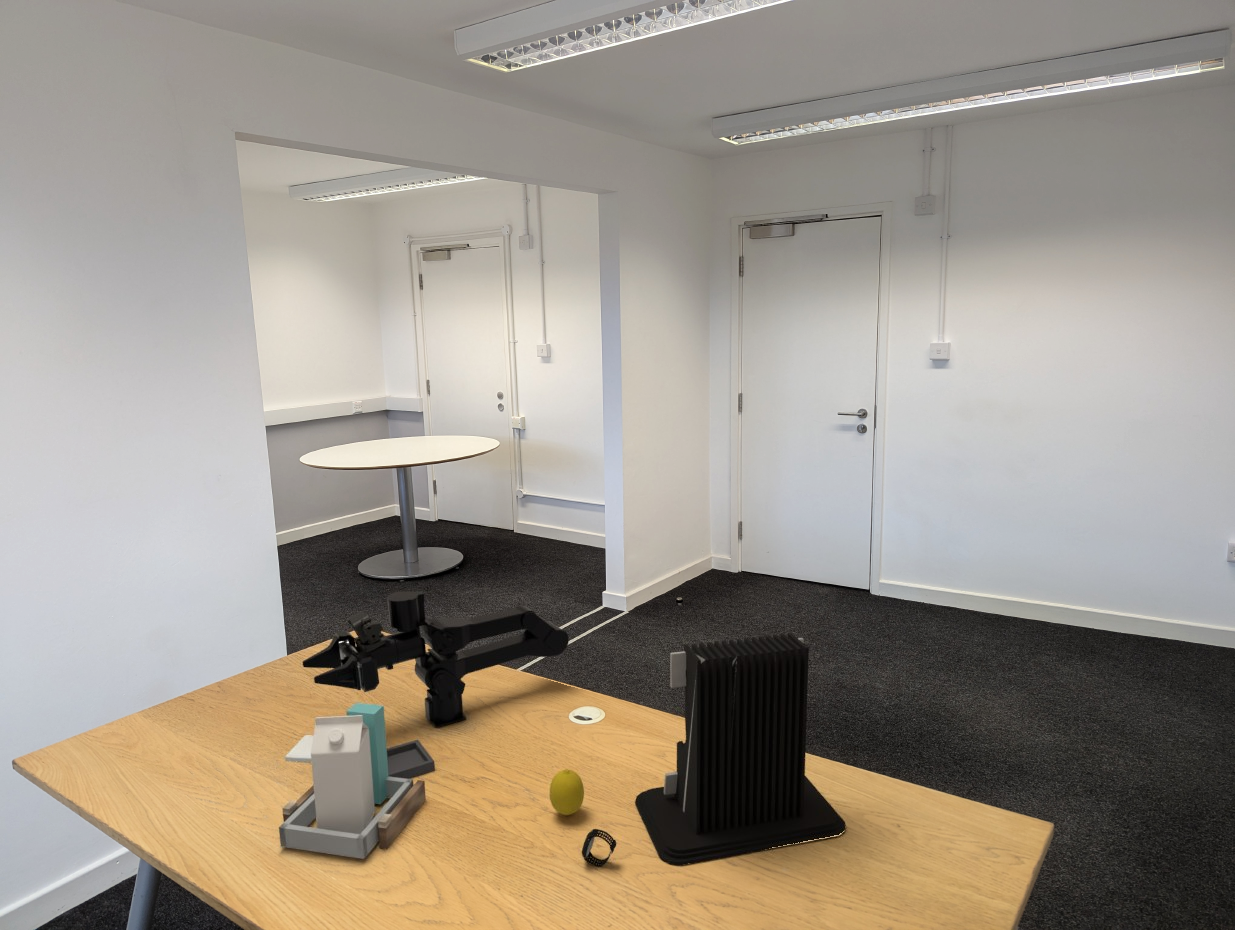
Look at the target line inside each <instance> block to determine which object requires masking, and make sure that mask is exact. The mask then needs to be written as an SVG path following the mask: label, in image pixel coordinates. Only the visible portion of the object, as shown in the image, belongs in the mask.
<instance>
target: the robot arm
mask: <svg viewBox="0 0 1235 930" xmlns="http://www.w3.org/2000/svg"><path fill="white" fill-rule="evenodd" d="M425 599H426V598H425V594H424V593H423V592H422V591H396V592H392V593H391V594H388V596H387V606H388V607H387V609H388V617H389V627H391V628H393V629H395V631H396V633H391V634H387V635H385V634H384V633H382V631H383V630H384V627H383V626H382V624H381V623H380V621H378V620H372V619H371V618H370V617H369V615H368V614H367V613H366V612H365V611H363V610H360V611H359V612H357V613H355V614H353V615H352V616H350V617H349V618H347V620H346V621H347V623H348V624H349V625H350V626H351V627H352V629H353V631H354V632H355V634H356V636H357V637H356V636H355V637H354V636H353V635H352V633H350V632H349V631H347V630H341V631H336V632H335V634H334V635H333V637H332V639H331V642H330V643H329V645H328V646H327V647H324V649H322V650H320V651H319V652H317V653H315V654H313V655H311V656H310V657H307V658H306V659H304V660H302V667H303V668H311V669H329V670H328V671H325V672H323V673H319V674H318V675H316V676H314V677H313V682H314V684H317V685H318V684H319V685H326V686H334V687H341V688H346V689H352V690H357V691H361V690H362V691H363V692H364V693H366V692H367V693H368V692H370V691H371V692H372V691H375V690H376V689H377V687H378V686H379V684H380V679H379V678H380V677H379V670H380V669H383V668H385V669H386V670H387V671H389V670H394V665H398V664H402V663H406V662H409V661H413V660H415V661H414V662H415V665H414V672H415V675H416V676H417V678H418V679H419V680H420V681H421V682H422V683H423V684H424V685H425V686H426V687H427V688H428V689H426V697H425V698H424V710H425V711H424V712H425V713H424V714H425V718H426V719H427V721H429V722H430V723H431V724H432V725H433V726H434V728H440V727H444V726H448V725H451V724H454V723H459V722H462V721H465V720H466V719H467V716H466V714H464V712H463V711H464V709H463V707H464V706H463V693H464V691H465V688H466V683H465V682H464V681H463V680H462V679H463V678H464V677H465V676H466V675H468V674H471V673H475V672H479V671H482V670H485V669H488V668H492V667H495V666H498V665H502V664H506V663H509V662H513V661H516V660H519V659H523V658H527V657H541V658H548V657H558V656H561V655H562V654H563V653H565V651H566V649H567V647H568V646H569V640H570V639H569V634H568V633H567V632H566V631H565V630H564V629H562V628H561V627H559V626H557V625H556V624H555V623H553V622H551V621H549V620H544V619H542V618H541V617H540V616H538V615H537V613H536V612H535V611H533V610H532V609H531V608H529V607H527V606H526V605H519V606H516V607H515V608H509V609H506V610H501V611H496V612H492V613H487V614H484V615H483V614H482V615H478V616H475V617H470V618H457V617H437V618H432V619H431V618H429V617H427V616H426V611H425ZM520 630H524V631H523V632H522V633H521V634H519V635H515V636H512V637H508V638H505V639H501V640H498V641H497V640H496V641H494V642H490V643H486V644H483V645H479V646H476V647H472V648H469V649H464V648H465V647H467V645H469V644H470V643H472V642H473V643H474V642H475V641H478V640H483V639H487V638H491V637H496V636H499V635H503V634H508V633H514V632H517V631H520ZM421 631H422V636H421ZM426 644H427V646H428V647H429V648H427V650H426ZM463 649H464V650H463ZM460 650H461V651H460Z"/></svg>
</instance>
